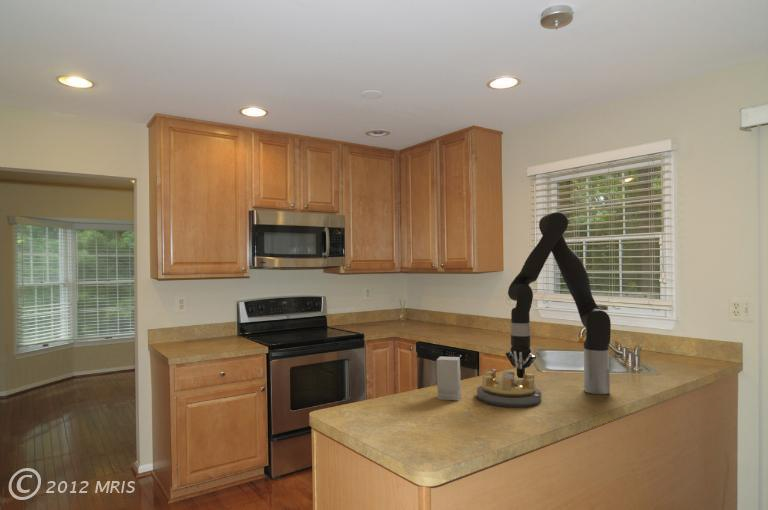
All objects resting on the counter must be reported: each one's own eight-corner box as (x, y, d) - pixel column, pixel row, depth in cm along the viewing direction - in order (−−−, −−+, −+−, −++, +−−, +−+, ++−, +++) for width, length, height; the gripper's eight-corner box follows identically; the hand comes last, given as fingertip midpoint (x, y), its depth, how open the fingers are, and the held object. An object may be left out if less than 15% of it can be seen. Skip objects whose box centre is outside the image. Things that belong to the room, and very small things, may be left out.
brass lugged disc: (536, 385, 198) (536, 369, 198) (535, 399, 179) (535, 380, 179) (485, 382, 204) (485, 366, 205) (479, 394, 185) (479, 377, 185)
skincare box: (461, 396, 195) (461, 356, 195) (458, 401, 188) (457, 360, 189) (440, 395, 197) (440, 355, 198) (436, 399, 191) (436, 358, 191)
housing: (541, 392, 200) (541, 384, 200) (541, 410, 177) (541, 401, 177) (480, 388, 207) (480, 380, 207) (473, 404, 184) (472, 395, 184)
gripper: (540, 334, 195) (540, 379, 195) (511, 331, 205) (511, 373, 205) (530, 336, 190) (530, 382, 190) (500, 333, 200) (501, 376, 200)
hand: (520, 377), depth 198 cm, fingers closed
